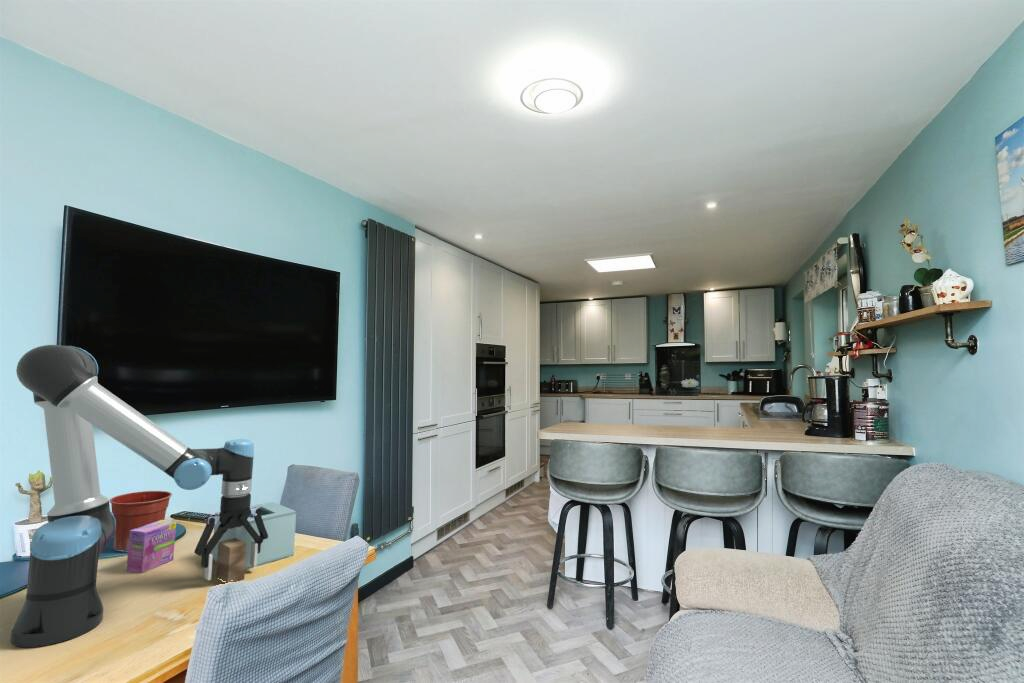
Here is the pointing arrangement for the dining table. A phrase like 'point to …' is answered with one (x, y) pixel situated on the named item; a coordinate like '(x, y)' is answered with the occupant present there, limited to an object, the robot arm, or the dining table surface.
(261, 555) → the posting box
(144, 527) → the box
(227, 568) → the token
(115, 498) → the flower pot
